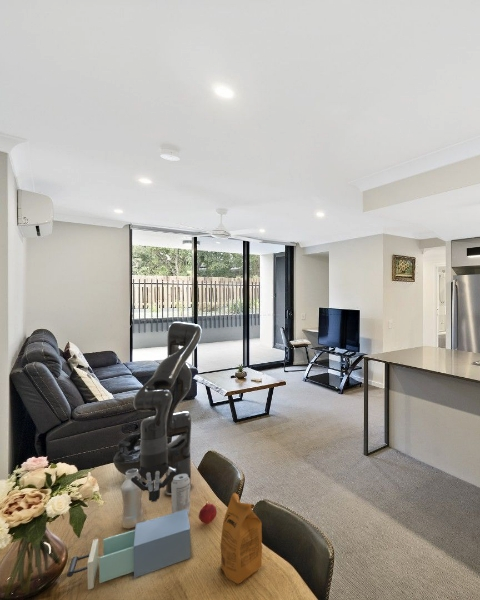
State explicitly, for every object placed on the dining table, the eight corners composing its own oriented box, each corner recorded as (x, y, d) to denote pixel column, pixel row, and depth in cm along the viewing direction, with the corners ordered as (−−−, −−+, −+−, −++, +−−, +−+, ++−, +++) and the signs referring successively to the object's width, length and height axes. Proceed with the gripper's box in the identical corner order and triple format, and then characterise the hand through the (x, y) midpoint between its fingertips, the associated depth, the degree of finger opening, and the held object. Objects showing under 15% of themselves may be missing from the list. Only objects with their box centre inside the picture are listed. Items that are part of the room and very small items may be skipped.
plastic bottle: (132, 532, 128) (131, 476, 128) (116, 529, 130) (115, 474, 129) (148, 521, 135) (147, 468, 134) (133, 518, 136) (132, 466, 135)
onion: (220, 520, 135) (220, 499, 135) (207, 530, 130) (207, 508, 129) (208, 517, 137) (208, 496, 137) (195, 526, 132) (195, 504, 131)
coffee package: (246, 550, 120) (246, 484, 119) (266, 569, 111) (265, 498, 111) (215, 567, 112) (215, 497, 111) (234, 589, 104) (233, 514, 103)
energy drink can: (186, 508, 142) (186, 471, 142) (192, 514, 138) (192, 476, 138) (169, 516, 138) (168, 477, 137) (175, 522, 134) (174, 482, 133)
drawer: (65, 597, 100) (64, 570, 100) (73, 571, 109) (72, 545, 109) (145, 569, 110) (145, 544, 110) (146, 547, 119) (146, 524, 119)
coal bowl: (128, 465, 177) (128, 427, 177) (173, 462, 181) (173, 424, 180) (103, 487, 158) (102, 444, 157) (154, 483, 161) (153, 441, 161)
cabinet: (134, 578, 108) (133, 546, 108) (136, 552, 118) (135, 523, 118) (190, 558, 116) (190, 528, 116) (187, 535, 126) (187, 508, 126)
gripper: (126, 457, 114) (127, 511, 114) (175, 450, 119) (175, 502, 119) (133, 447, 121) (133, 499, 121) (179, 441, 126) (179, 490, 126)
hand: (154, 500), depth 120 cm, fingers closed
